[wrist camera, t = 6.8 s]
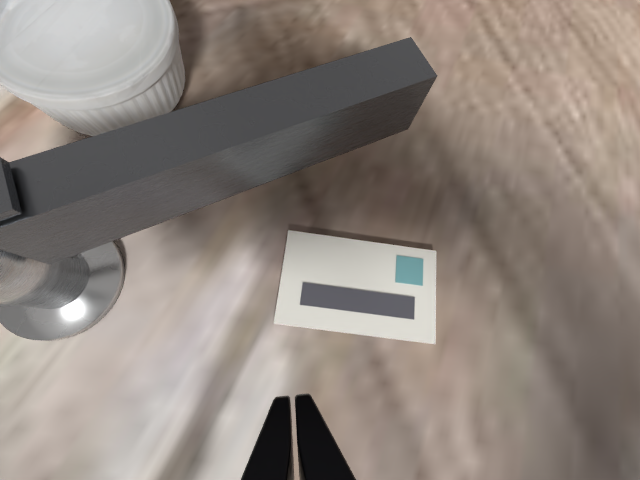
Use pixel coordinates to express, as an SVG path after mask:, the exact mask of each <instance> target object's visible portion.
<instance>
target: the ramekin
mask: <svg viewBox="0 0 640 480" xmlns="http://www.w3.org/2000/svg"><path fill="white" fill-rule="evenodd" d="M184 83H185V70H184V65H183V60H182V55H181V50H180V45H179V28H178V22H177V18H176V15H175V13H174V10H173V7H172V5H171V3H170V1H169V0H0V85H1V86H2V87H4V88H5V89H6V90H7V91H9V92H10V93H12V94H14V95H15V96H17V97H18V98H20V99H23V100H25V101H27V102H29V103H31V104H33V105H34V106H35V107H37V108H38V109H40V110H41V111H43V112H44V113H46V114H47V115H49V116H50V117H52V118H53V119H55V120H56V121H58V122H59V123H61V124H62V125H64V126H66V127H68V128H70V129H72V130H74V131H77V132H79V133H81V134H85V135H90V136H96V135H99V134H102V133H105V132H108V131H112V130H115V129H118V128H121V127H124V126H128V125H131V124H134V123H137V122H141V121H144V120H147V119H150V118H153V117H157V116H160V115H163V114H166V113H169V112H171V111H172V110H173V109H174V108H175V107H176V105H177V103H178V102H179V100H180V97H181V96H182V93H183V89H184Z"/></svg>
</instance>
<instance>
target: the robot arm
mask: <svg viewBox="0 0 640 480" xmlns="http://www.w3.org/2000/svg"><path fill="white" fill-rule="evenodd" d="M295 408H296V427H297V445H298V461H299V477H300V480H356V479H355V477H354V475H353V473H352V471H351V470H350V468H349V466H348V464H347V462H346V460H345V458H344V456H343V455H342V453H341V451H340V449H339V447H338V445H337V443H336V441H335V440H334V438H333V436H332V434H331V432H330V430H329V428H328V426H327V425H326V423H325V421H324V419H323V417H322V415H321V413H320V411H319V410H318V408H317V406H316V404H315V402H314V400H313V398H312V397H311V395H310V394H299V395H296V396H295ZM241 480H294V461H293V439H292V418H291V404H290V397H289V396H280V397H276V398H275V399H274V400H273V402H272V405H271V407H270V410H269V412H268V415H267V417H266V420H265V422H264V424H263V427H262V429H261V432H260V434H259V437H258V439H257V441H256V444H255V446H254V449H253V451H252V454H251V456H250V458H249V461H248V463H247V466H246V468H245V471H244V473H243V476H242V478H241Z"/></svg>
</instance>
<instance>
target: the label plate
mask: <svg viewBox="0 0 640 480" xmlns="http://www.w3.org/2000/svg"><path fill="white" fill-rule="evenodd" d="M274 324H279V325H287V326H294V327H302V328H310V329H318V330H326V331H334V332H342V333H349V334H357V335H365V336H373V337H381V338H389V339H397V340H405V341H412V342H420V343H428V344H435V336H436V251H433V250H426V249H419V248H412V247H405V246H398V245H391V244H383V243H376V242H369V241H362V240H355V239H348V238H341V237H334V236H326V235H319V234H312V233H305V232H298V231H291V230H288V236H287V242H286V249H285V255H284V261H283V268H282V274H281V280H280V286H279V293H278V299H277V305H276V312H275V318H274Z"/></svg>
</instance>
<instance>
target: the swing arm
mask: <svg viewBox="0 0 640 480" xmlns="http://www.w3.org/2000/svg"><path fill="white" fill-rule="evenodd" d="M436 77H437V75H436V73H435V72H434V70H433V69H432V67H431V66H430V64H429V63H428V61H427V60H426V58H425V57H424V56H423V54H422V53H421V51H420V50H419V48H418V47H417V45H416V44H415V42H414V41H413V39H412V38H411V37H410V38H406V39H403V40H400V41H397V42H394V43H390V44H387V45H384V46H381V47H378V48H374V49H371V50H368V51H365V52H362V53H358V54H355V55H352V56H349V57H346V58H342V59H339V60H336V61H333V62H330V63H326V64H323V65H320V66H317V67H314V68H310V69H307V70H304V71H301V72H298V73H294V74H291V75H288V76H285V77H282V78H278V79H275V80H272V81H269V82H265V83H262V84H259V85H256V86H253V87H249V88H246V89H243V90H240V91H237V92H233V93H230V94H227V95H224V96H221V97H217V98H214V99H211V100H208V101H205V102H201V103H198V104H195V105H192V106H189V107H185V108H182V109H179V110H176V111H173V112H169V113H166V114H163V115H160V116H157V117H153V118H150V119H147V120H144V121H141V122H137V123H134V124H131V125H128V126H124V127H121V128H118V129H115V130H112V131H108V132H105V133H102V134H99V135H96V136H92V137H89V138H86V139H83V140H80V141H76V142H73V143H70V144H67V145H64V146H60V147H57V148H54V149H51V150H48V151H44V152H41V153H38V154H35V155H32V156H28V157H25V158H22V159H19V160H16V161H12V162H7V161H6V160H4V159H2V158H1V157H0V250H3V251H6V252H10V253H13V254H16V255H19V256H23V257H26V258H29V259H32V260H36V261H39V262H42V263H45V264H49V265H51V264H53V263H56V262H59V261H61V260H64V259H67V258H69V257H72V256H75V255H77V254H80V253H82V252H85V251H88V250H90V249H93V248H96V247H98V246H101V245H104V244H106V243H109V242H111V241H114V240H117V239H119V238H122V237H125V236H127V235H130V234H133V233H135V232H138V231H141V230H143V229H146V228H148V227H151V226H154V225H156V224H159V223H162V222H164V221H167V220H170V219H172V218H175V217H177V216H180V215H183V214H185V213H188V212H191V211H193V210H196V209H199V208H201V207H204V206H206V205H209V204H212V203H214V202H217V201H220V200H222V199H225V198H228V197H230V196H233V195H235V194H238V193H241V192H243V191H246V190H249V189H251V188H254V187H257V186H259V185H262V184H264V183H267V182H270V181H272V180H275V179H278V178H280V177H283V176H286V175H288V174H291V173H293V172H296V171H299V170H301V169H304V168H307V167H309V166H312V165H315V164H317V163H320V162H322V161H325V160H328V159H330V158H333V157H336V156H338V155H341V154H344V153H346V152H349V151H351V150H354V149H357V148H359V147H362V146H365V145H367V144H370V143H373V142H375V141H378V140H380V139H383V138H386V137H388V136H391V135H394V134H396V133H399V132H402V131H404V130H407V129H408V128H409V126H410V124H411V123H412V121H413V119H414V117H415V115H416V114H417V112H418V110H419V108H420V106H421V105H422V103H423V101H424V99H425V97H426V95H427V94H428V92H429V90H430V88H431V86H432V85H433V83H434V81H435V79H436Z"/></svg>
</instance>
